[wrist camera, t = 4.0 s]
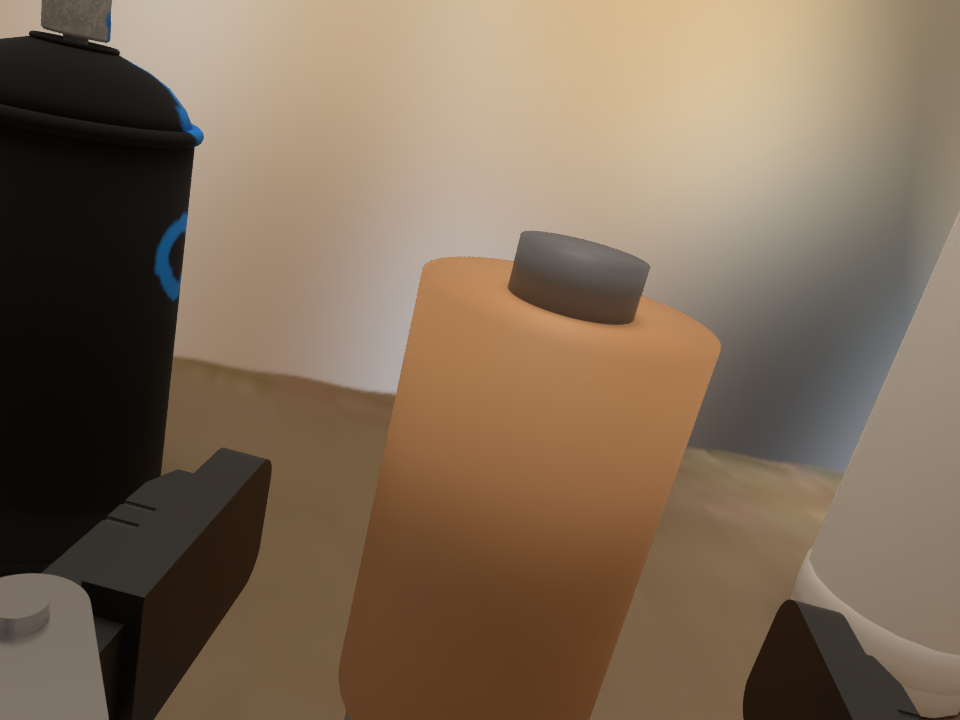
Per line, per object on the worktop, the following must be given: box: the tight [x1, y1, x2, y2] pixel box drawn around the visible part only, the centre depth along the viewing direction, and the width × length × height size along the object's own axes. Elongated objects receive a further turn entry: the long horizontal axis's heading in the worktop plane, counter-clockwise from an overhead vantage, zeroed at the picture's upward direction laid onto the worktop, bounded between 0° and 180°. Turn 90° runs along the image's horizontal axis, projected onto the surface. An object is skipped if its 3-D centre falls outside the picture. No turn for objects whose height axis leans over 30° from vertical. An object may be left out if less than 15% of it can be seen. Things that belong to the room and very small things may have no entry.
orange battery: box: [339, 231, 721, 720], centre depth 15 cm, size 6×6×10 cm
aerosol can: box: [0, 0, 204, 577], centre depth 27 cm, size 8×8×20 cm
